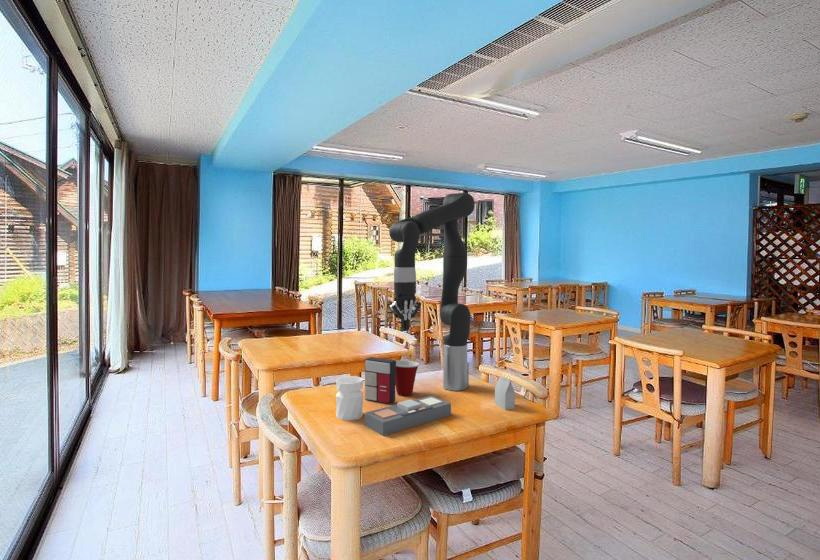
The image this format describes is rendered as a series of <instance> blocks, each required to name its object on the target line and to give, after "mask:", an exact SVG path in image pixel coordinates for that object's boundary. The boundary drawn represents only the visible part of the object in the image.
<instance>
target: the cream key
mask: <svg viewBox="0 0 820 560" xmlns="http://www.w3.org/2000/svg"><path fill="white" fill-rule="evenodd" d="M419 402H420V403H423V404H425V405H427V406H433V405H437V404H440V403H442V401H440V400H437V399H435V398H432V397H431V398H427V399H423V400H420V401H419Z"/></svg>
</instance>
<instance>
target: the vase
mask: <svg viewBox="0 0 820 560" xmlns="http://www.w3.org/2000/svg"><path fill="white" fill-rule="evenodd" d="M335 383H336V384H335V389H336V390H337V391H338V392H337V393H336V394H335V396H336V398H335V399H336V402H335V403H336V404H335V415H336V419H338V420H340V419H341V420H340V421H347V422H348V421H349V422H350V421H354V420H359V419H361V418H362V417H363V414H364V411H363V408H364V394H363V393H364V392H362V391H361V390H362V389H363V388H364V379H363V378H362V377H360V376H356V375H354V376H353V375H347V376H339V378H336V381H335Z"/></svg>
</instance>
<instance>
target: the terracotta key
mask: <svg viewBox="0 0 820 560" xmlns="http://www.w3.org/2000/svg"><path fill="white" fill-rule="evenodd" d="M374 415H376V416H378V417H380V418H382V419H386V418H390V417H393V416H397V415H398V413H396V412H394V411H392V410H390V409H385V410H381V411H377V412H374Z"/></svg>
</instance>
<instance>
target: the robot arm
mask: <svg viewBox="0 0 820 560" xmlns="http://www.w3.org/2000/svg"><path fill="white" fill-rule="evenodd" d="M475 205H476V203H475V199H474V197H473V196H472V195H471V194H470V193H468V192H456V193H448V194H447V195H445V196H444V198H443V202H442V205H441V206H437V207H433V208H430V209H427V210H424V211H422V212H420V213H418V214H415V215H414V216H410V217H407V218H404V219H401V220H396V221H395V222H394V223H393V224H391V226H390V228H389V237H390V239H391V240H392V241H393V242H396V243H402V246H401V249H397V250H396V251H395V252H394V257H393V258H394V270H393V271H394V272H393V294H394V299H393V302H392V304H389V305H388V309H389V310H390V311H391V312H392V314H393V316H394V317H395V318H396V319H398V320H400V328H401V330H402V331H403V332H407V331H410V328H411V319H412V318H414V317H416V315H417V312H419V309H420V307H421V305H422V302H420V301H418V300H417V297H416V293H417V271H416V253H417V249H418V245H419V241H420V235H423V234H425V233H428V232H430V231H432V230H433V229H436V228H438V227H440V226H442V225H443V257H442V258H443V260H442V261H443V262H442V264H443V265H442V269H443V270H442V273H443V274H442V291H441V300H440V307H439V317H440V320H441V322H442V324H444V325H446V326H449V333H448V334H446V335H445V336H443V345H442V346H443V347H442V348H443V351H442V352H443V353H442V355H443V356H442V357H443V363H442V365H443V366H442V367H443V368H442V369H443V370H442V373H443V375H442V377H443V378H442V380H443V381H442V384H443V385H442V388H444V389H445V390H448V391H464V390H466V389H467V388H469V386H470V385H469V384H470V382H469V381H470V380H469V379H470V376H469V375H470V363H469V362H468V340H469V337H470V332H471V330H470V329H471V311H470V309H469V307H468V306H467V305H465V304H464V303H460V302H459V300H458V299H459V289H460V286H461V284H462V282H463V280H464V278H465V275H466V274H467V273H466V272H467V269H468V250H467V248H466V245H465V242H464V241H463V239H462V237H461V236H460V233H459V228H458V227H459V226H458V219H461V218H467V217H469V216H471V215H472V213H473V212H474V211H475Z"/></svg>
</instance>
